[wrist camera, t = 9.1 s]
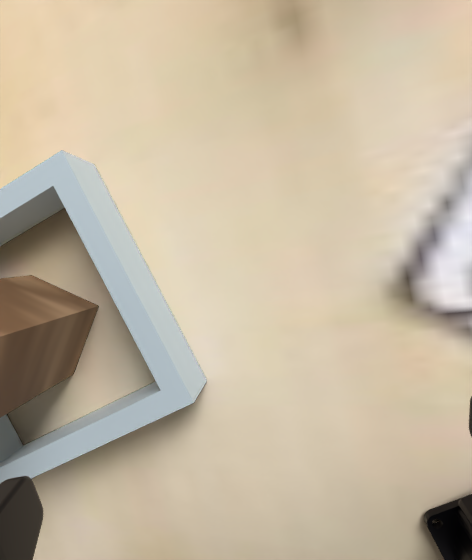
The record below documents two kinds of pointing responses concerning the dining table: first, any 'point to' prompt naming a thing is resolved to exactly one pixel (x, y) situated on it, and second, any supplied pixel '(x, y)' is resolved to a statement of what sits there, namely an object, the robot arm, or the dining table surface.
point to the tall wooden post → (38, 337)
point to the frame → (128, 298)
